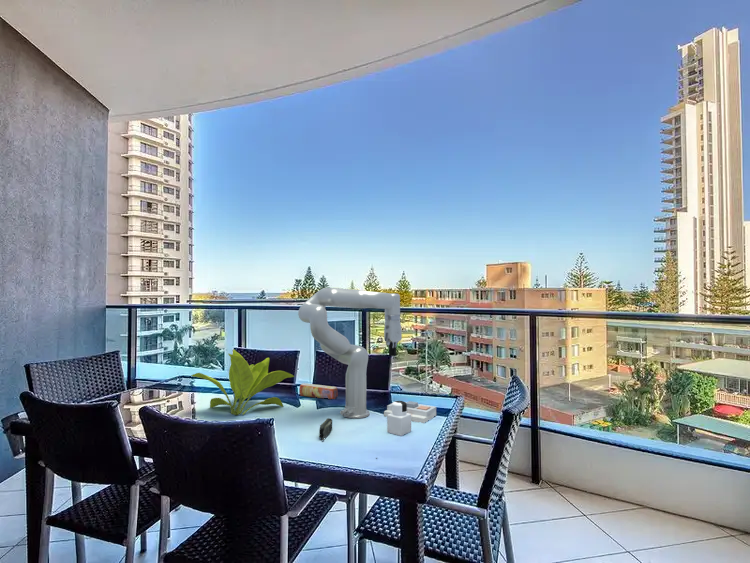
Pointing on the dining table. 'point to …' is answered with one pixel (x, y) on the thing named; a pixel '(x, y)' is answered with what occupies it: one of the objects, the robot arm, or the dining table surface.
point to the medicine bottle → (399, 419)
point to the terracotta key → (423, 408)
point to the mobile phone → (325, 428)
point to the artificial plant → (247, 382)
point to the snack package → (318, 391)
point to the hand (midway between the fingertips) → (392, 355)
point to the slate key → (412, 404)
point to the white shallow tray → (416, 413)
